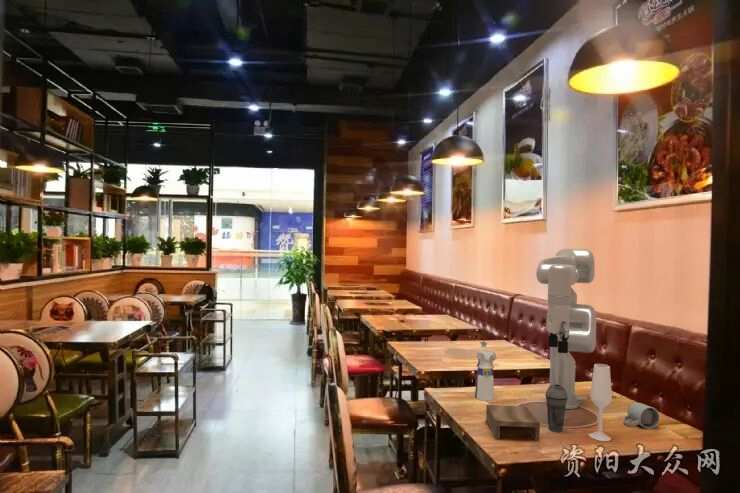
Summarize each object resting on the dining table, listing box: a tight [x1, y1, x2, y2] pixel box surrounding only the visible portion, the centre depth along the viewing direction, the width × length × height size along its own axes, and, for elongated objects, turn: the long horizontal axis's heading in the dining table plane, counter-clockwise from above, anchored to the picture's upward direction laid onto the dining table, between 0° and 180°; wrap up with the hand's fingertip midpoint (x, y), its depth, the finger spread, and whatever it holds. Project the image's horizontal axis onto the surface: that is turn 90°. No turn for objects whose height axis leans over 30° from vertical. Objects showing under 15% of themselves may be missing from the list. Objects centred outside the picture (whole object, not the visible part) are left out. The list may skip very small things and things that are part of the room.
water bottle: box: [474, 339, 497, 402], centre depth 199 cm, size 8×9×25 cm
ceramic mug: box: [622, 402, 660, 430], centre depth 173 cm, size 11×8×8 cm
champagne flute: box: [588, 363, 613, 442], centre depth 160 cm, size 7×7×24 cm
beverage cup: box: [544, 372, 568, 433], centre depth 166 cm, size 7×7×20 cm
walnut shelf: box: [485, 404, 541, 442], centre depth 164 cm, size 14×16×6 cm
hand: (557, 349), depth 166 cm, fingers open, 9 cm apart
